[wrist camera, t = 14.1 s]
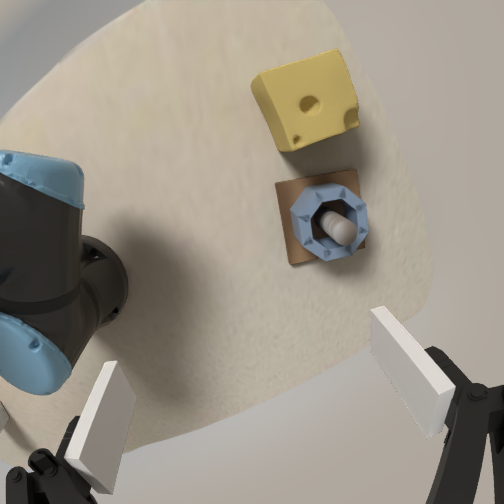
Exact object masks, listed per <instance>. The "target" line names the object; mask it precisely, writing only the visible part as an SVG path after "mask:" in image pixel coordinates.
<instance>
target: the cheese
mask: <svg viewBox="0 0 504 504" xmlns="http://www.w3.org/2000/svg"><path fill="white" fill-rule="evenodd" d="M251 90H252V92H253V95H254V97H255V99H256V101H257V103H258V105H259V107H260V109H261V111H262V113H263V115H264V117H265V119H266V121H267V123H268V126H269V128H270V131H271V133H272V136H273V139H274V141H275V144H276V147H277V149H278V151H281V152H291V151H295V150H298V149H301V148H303V147H305V146H308V145H310V144H313V143H316V142H318V141H321V140H323V139H326V138H329V137H332V136H335V135H339V134H342V133H345V132H346V131H347V130H349V129H353V128H357V127H359V119H358V109H359V106H358V100H357V96H356V93H355V90H354V87H353V84H352V82H351V79H350V75H349V72H348V69H347V67H346V64H345V62H344V59H343V57H342V55H341V53H340V52H339V50H338V49H333V50H330V51H327V52H324V53H321V54H319V55H316V56H313V57H310V58H307V59H303V60H300V61H296V62H293V63H289V64H286V65H283V66H279V67H276V68H273V69H270V70H266V71H263V72H260V73H259V74H258V75H257V76H256V77H255V78H254V79H253V81H252V83H251Z"/></svg>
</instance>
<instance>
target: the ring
mask: <svg viewBox="0 0 504 504" xmlns="http://www.w3.org/2000/svg"><path fill="white" fill-rule="evenodd" d="M336 199H338V200H339V201H340V202H342V203H343V206H344V215H345V218H346V219H348V220H349V221H351V222H353V223H354V224H355V225H356V227H357V231H358V233H357V237H356V239H355V241H354V242H353V243H351V244H350V245H346V246H344V245H340V244H339V243H337V242H336V241H335V240H334V239H333V238H332V237H327V238H322V239H317V238H315V237H314V236H312V229H311V222H310V219H311V217H312V216H313V214H314V213H315V212H316V210H317V209H318V207H319V206H320V204H321V203H322V202H325V201H331V200H336ZM290 212H291V218H292V225H293V231H294V236H295V237H296V239H297V240H298V241H299V242H300V244H301V245H302V246H303V247H305V248H306V249H308V250H309V251H311V252H312V253H314V254H315V255H316V256H318V257H319V258H321V259H322V260H324V261H329V260H333V259H338V258H342V257H346V256H351V255H352V254H353V253H354V252H355V250H356V249H357V248H358V246H359V245H360V243H361V242H362V241H363V239H364V238H365V236H366V235H367V234H368V232H369V230H368V218H367V208H366V203H365V202H363V201H362V200H361V199H360V198H359V197H357V196H356V195H355V194H354V193H352V192H351V191H350V190H349V189H347V188H346V187H345V186H342V185H339V184H336V183H333V182H330V183H324V184H318V185H312V186H307V187H305V189H304V190H303V192H302V193H301V194H300V196H299V197H298V199H297V200H296V202H295V203H294V204H293V206H292V207H291V209H290Z"/></svg>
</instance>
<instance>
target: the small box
mask: <svg viewBox="0 0 504 504" xmlns="http://www.w3.org/2000/svg"><path fill="white" fill-rule="evenodd" d="M8 419H9V416H8V414H7V413H6V411H5V409H4V407H3V405H2V404H1V402H0V433H1V431H2V429H3V428H4V426H5V424H6V423H7V421H8Z"/></svg>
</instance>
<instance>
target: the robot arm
mask: <svg viewBox="0 0 504 504" xmlns="http://www.w3.org/2000/svg"><path fill="white" fill-rule="evenodd" d="M83 192H84V173H83V171H82V169H81V168H80V166H79V165H77V164H76V163H74V162H71V161H68V160H63V159H59V158H54V157H48V156H43V155H37V154H31V153H24V152H17V151H10V150H0V375H1V376H2V377H3V378H4V379H5V380H6V381H7V382H9V383H10V384H12V385H13V386H15V387H16V388H18V389H20V390H22V391H25V392H27V393H30V394H34V395H50V394H52V393H54V392H56V391H58V390H59V389H60V388H61V386H62V385H63V384H64V382H65V381H66V380H67V379H68V378H69V377H70V375H71V373H72V369H73V367H74V366H75V364H76V362H77V360H78V359H79V357H80V355H81V354H82V352H83V350H84V348H85V347H86V345H87V343H88V342H89V340H90V338H91V337H92V335H93V333H94V332H95V331H96V330H98V329H100V328H102V327H103V326H105V325H107V324H109V323H110V322H112V321H113V320H114V319H115V318H116V317H117V316H118V314H119V313H120V311H121V310H122V308H123V306H124V304H125V302H126V299H127V294H128V281H127V276H126V272H125V269H124V267H123V265H122V263H121V261H120V260H119V258H118V257H117V255H116V254H115V253H114V252H113V251H112V250H111V249H110V248H109V247H108V246H107V245H106V244H104V243H103V242H101V241H100V240H98V239H95V238H93V237H90V236H86V235H81V232H82V215H83V210H84V209H85V205H84V204H83ZM370 352H371V353H372V355H373V357H374V358H375V359H376V361H377V363H378V364H379V366H380V367H381V369H382V370H383V372H384V373H385V375H386V376H387V378H388V379H389V381H390V382H391V384H392V386H393V387H394V389H395V390H396V392H397V393H398V395H399V396H400V398H401V399H402V401H403V403H404V404H405V406H406V407H407V409H408V410H409V412H410V414H411V415H412V417H413V418H414V420H415V421H416V423H417V425H418V426H419V428H420V429H421V431H422V433H423V434H424V436H425V438H426V439H427V438H429V437H431V436H433V435H436V434H437V433H440V432H441V431H442V429H443V426H444V423H445V424H446V426H447V427H448V429H449V430H448V433H447V435H446V438H445V441H444V443H445V445H444V448H443V452H442V456H441V459H440V463H439V466H438V469H437V473H436V476H435V479H434V482H433V485H432V488H431V491H430V493H429V496H428V499H427V501H426V504H473V501H474V498H475V494H476V490H477V486H478V481H479V477H480V472H481V467H482V462H483V456H484V450H485V444H486V437H487V434H488V433H489V436H490V444H491V452H492V463H493V475H494V493H495V504H504V385H501V386H497V387H492V388H487V387H486V386H485V385H483V384H479V383H472V382H471V381H470V380H469V379H468V378H467V377H466V376H465V375H464V374H463V372H462V371H461V370H460V369H459V368H458V367H457V366H456V365H455V364H454V363H453V361H452V360H451V359H449V357H448V356H447V355H446V354H445V353H444V352H443V351H442V350H440V349H438V348H436V347H434V346H432V347H429V348H427V349H423V348H422V347H421V346H420V345H419V344H418V343H417V342H416V340H415V339H414V338H413V337H412V336H411V335H410V334H409V333H408V332H407V331H406V329H405V328H404V327H403V326H402V325H401V324H400V323H399V322H398V321H397V320H396V318H395V317H394V316H393V315H392V314H391V313H390V312H389V311H388V310H387V309H386V308H385V307H384V306H380V307H377V308H373V309H370ZM136 400H137V397H136V395H135V393H134V392H133V390H132V388H131V386H130V384H129V382H128V380H127V378H126V376H125V375H124V373H123V371H122V369H121V367H120V365H119V363H118V361H108V362H105V363H104V365H103V368H102V370H101V372H100V374H99V376H98V378H97V380H96V383H95V385H94V387H93V389H92V391H91V394H90V396H89V398H88V400H87V403H86V405H85V407H84V410H83V412H82V414H81V416H75V417H74V419H73V420H72V421H71V422H70V423H69V425H68V427H67V430H66V433H65V434H64V437H63V438H64V439H62V441H61V444H60V446H59V449H58V451H57V453H56V456H54V455H53V454H52V453H51V452H50V451H49V450H48V449H45V448H41V449H38V450H36V451H34V452H33V453H32V454H31V455H30V457H29V459H28V466H29V467H30V468H31V469H32V470H33V471H34V472H31V473H28V472H27V471H26V470H25V469H24V468H23V467H20V466H18V467H14V468H12V469H11V470H10V471H9V472H8V474H7V476H6V504H97V502H96V500H95V498H94V497H93V495H92V494H91V493H90V490H91V487H92V488H93V489H94V490H95V491H96V492H98V493H101V494H113V490H114V486H115V482H116V477H117V473H118V469H119V465H120V461H121V456H122V453H123V449H124V445H125V441H126V437H127V433H128V429H129V425H130V422H131V418H132V414H133V411H134V407H135V404H136Z"/></svg>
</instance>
